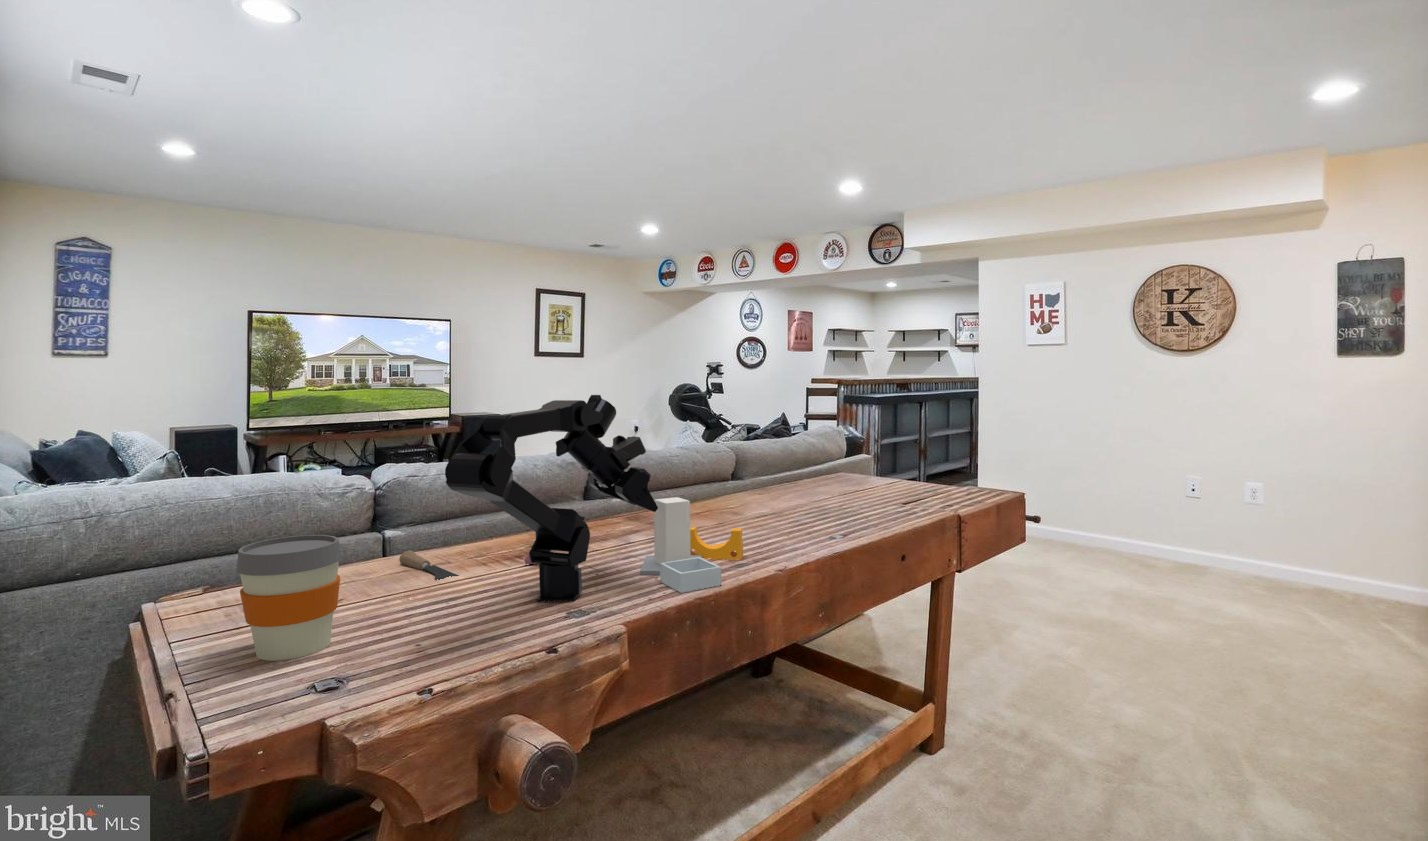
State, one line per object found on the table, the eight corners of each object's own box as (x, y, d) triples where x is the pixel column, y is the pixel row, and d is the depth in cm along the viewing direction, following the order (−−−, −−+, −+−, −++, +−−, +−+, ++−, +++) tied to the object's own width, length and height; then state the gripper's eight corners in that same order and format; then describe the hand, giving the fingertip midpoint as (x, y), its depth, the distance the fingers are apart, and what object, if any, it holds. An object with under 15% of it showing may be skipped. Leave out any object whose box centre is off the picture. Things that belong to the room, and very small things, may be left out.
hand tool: (454, 582, 122) (389, 554, 137) (455, 598, 122) (389, 569, 137) (481, 574, 126) (415, 548, 141) (482, 589, 127) (415, 562, 142)
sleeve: (680, 593, 118) (680, 573, 118) (660, 581, 125) (659, 563, 125) (721, 585, 122) (721, 566, 122) (698, 574, 129) (698, 557, 129)
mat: (640, 575, 129) (640, 571, 129) (646, 559, 141) (646, 555, 141) (701, 574, 130) (701, 570, 130) (701, 558, 142) (701, 555, 141)
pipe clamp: (743, 555, 144) (742, 526, 144) (740, 560, 140) (740, 531, 140) (689, 554, 146) (689, 525, 146) (685, 559, 142) (685, 529, 142)
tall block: (666, 567, 132) (665, 503, 131) (654, 561, 136) (653, 499, 136) (690, 563, 134) (689, 500, 134) (678, 558, 139) (677, 497, 139)
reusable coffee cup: (358, 646, 94) (354, 542, 94) (254, 674, 85) (249, 560, 84) (327, 625, 103) (323, 530, 102) (229, 649, 94) (225, 545, 93)
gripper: (639, 424, 118) (694, 481, 124) (602, 421, 134) (651, 471, 140) (599, 471, 115) (656, 526, 121) (565, 461, 131) (617, 511, 137)
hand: (646, 506), depth 130 cm, fingers open, 9 cm apart
